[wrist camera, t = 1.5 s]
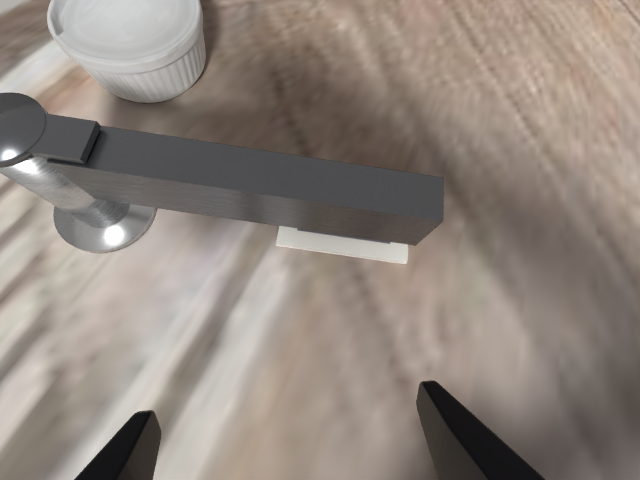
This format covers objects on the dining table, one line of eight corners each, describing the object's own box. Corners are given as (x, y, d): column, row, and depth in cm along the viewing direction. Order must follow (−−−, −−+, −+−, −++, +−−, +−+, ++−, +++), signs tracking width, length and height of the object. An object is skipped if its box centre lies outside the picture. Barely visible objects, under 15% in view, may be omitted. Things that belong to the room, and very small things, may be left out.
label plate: (408, 195, 27) (410, 191, 26) (405, 264, 25) (407, 262, 24) (288, 177, 26) (288, 173, 26) (276, 245, 24) (275, 243, 24)
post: (168, 176, 26) (107, 92, 17) (141, 259, 23) (55, 209, 15) (79, 162, 25) (-25, 72, 17) (43, 245, 23) (-97, 187, 15)
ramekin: (97, 19, 31) (59, -45, 26) (217, 21, 32) (203, -40, 27) (78, 115, 27) (29, 63, 22) (214, 114, 28) (196, 63, 23)
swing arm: (17, 199, 19) (-66, 155, 15) (44, 143, 20) (-23, 86, 16) (414, 256, 20) (448, 230, 15) (416, 198, 21) (448, 159, 17)
